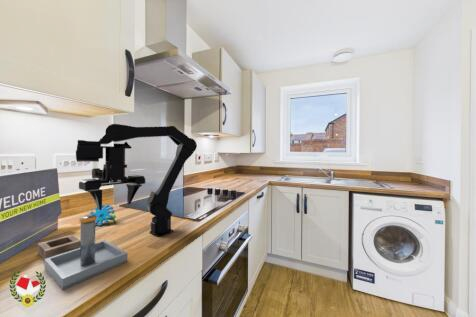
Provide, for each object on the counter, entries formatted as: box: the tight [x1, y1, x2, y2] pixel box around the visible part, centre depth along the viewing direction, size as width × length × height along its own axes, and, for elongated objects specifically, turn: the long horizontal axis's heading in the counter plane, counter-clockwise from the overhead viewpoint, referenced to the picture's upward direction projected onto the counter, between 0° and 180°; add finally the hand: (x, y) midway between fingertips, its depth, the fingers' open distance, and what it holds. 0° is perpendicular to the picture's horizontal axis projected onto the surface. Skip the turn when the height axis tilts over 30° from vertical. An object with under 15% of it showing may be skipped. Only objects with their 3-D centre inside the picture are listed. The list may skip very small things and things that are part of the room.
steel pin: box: [78, 214, 97, 266], centre depth 53 cm, size 4×4×12 cm
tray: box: [44, 239, 128, 291], centre depth 53 cm, size 14×14×2 cm
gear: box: [89, 203, 117, 227], centre depth 85 cm, size 11×6×10 cm
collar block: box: [37, 234, 80, 262], centre depth 59 cm, size 8×8×3 cm
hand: (115, 206), depth 67 cm, fingers open, 9 cm apart
